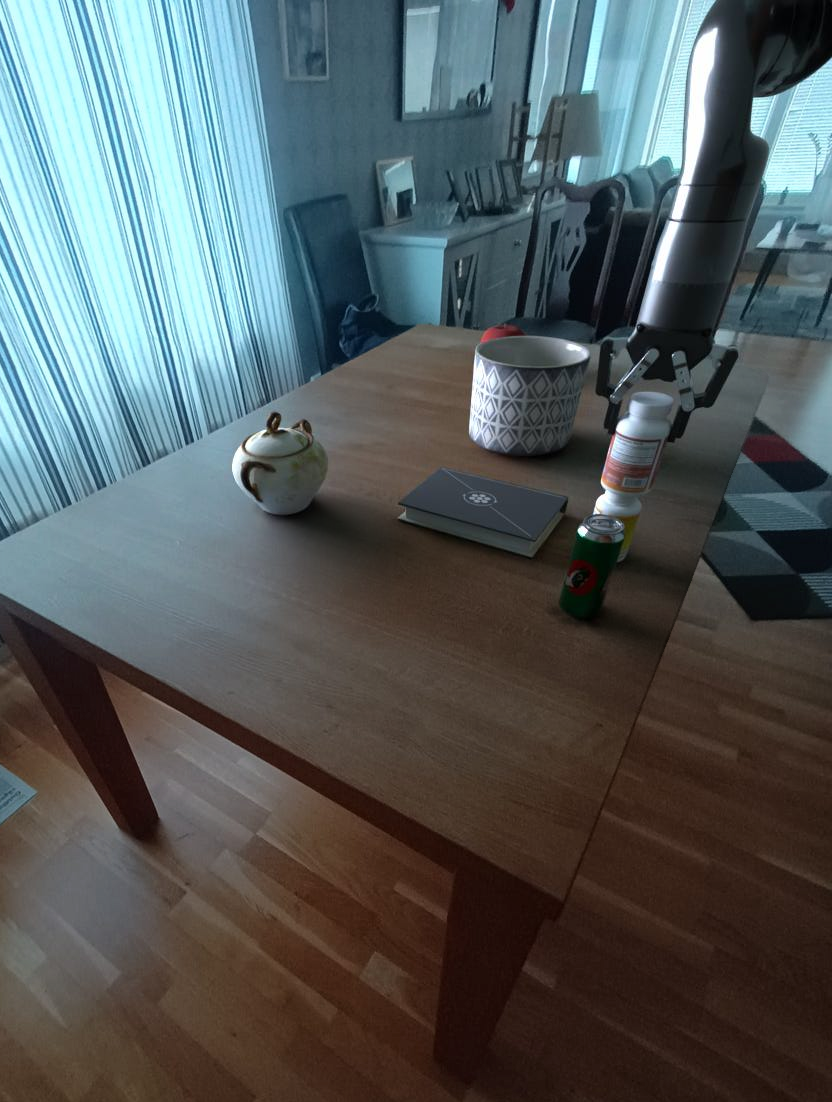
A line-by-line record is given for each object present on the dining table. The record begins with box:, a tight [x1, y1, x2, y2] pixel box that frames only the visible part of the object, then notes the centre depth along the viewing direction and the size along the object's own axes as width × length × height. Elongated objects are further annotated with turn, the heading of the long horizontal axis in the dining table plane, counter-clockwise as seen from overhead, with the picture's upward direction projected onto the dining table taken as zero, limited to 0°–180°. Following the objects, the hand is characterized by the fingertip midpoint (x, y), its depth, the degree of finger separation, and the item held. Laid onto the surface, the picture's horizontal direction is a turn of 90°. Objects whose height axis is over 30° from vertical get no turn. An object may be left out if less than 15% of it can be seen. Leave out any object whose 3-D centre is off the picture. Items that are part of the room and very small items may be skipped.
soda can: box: [558, 513, 625, 620], centre depth 68 cm, size 5×5×12 cm
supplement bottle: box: [592, 489, 643, 563], centre depth 77 cm, size 6×6×10 cm
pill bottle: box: [600, 391, 675, 497], centre depth 70 cm, size 6×6×11 cm
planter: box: [468, 335, 592, 457], centre depth 104 cm, size 19×19×16 cm
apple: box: [479, 322, 526, 344], centre depth 136 cm, size 11×11×12 cm
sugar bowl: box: [231, 410, 329, 516], centre depth 90 cm, size 20×15×15 cm
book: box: [397, 466, 569, 559], centre depth 88 cm, size 22×15×3 cm
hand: (640, 435), depth 69 cm, fingers closed on pill bottle, 6 cm apart
